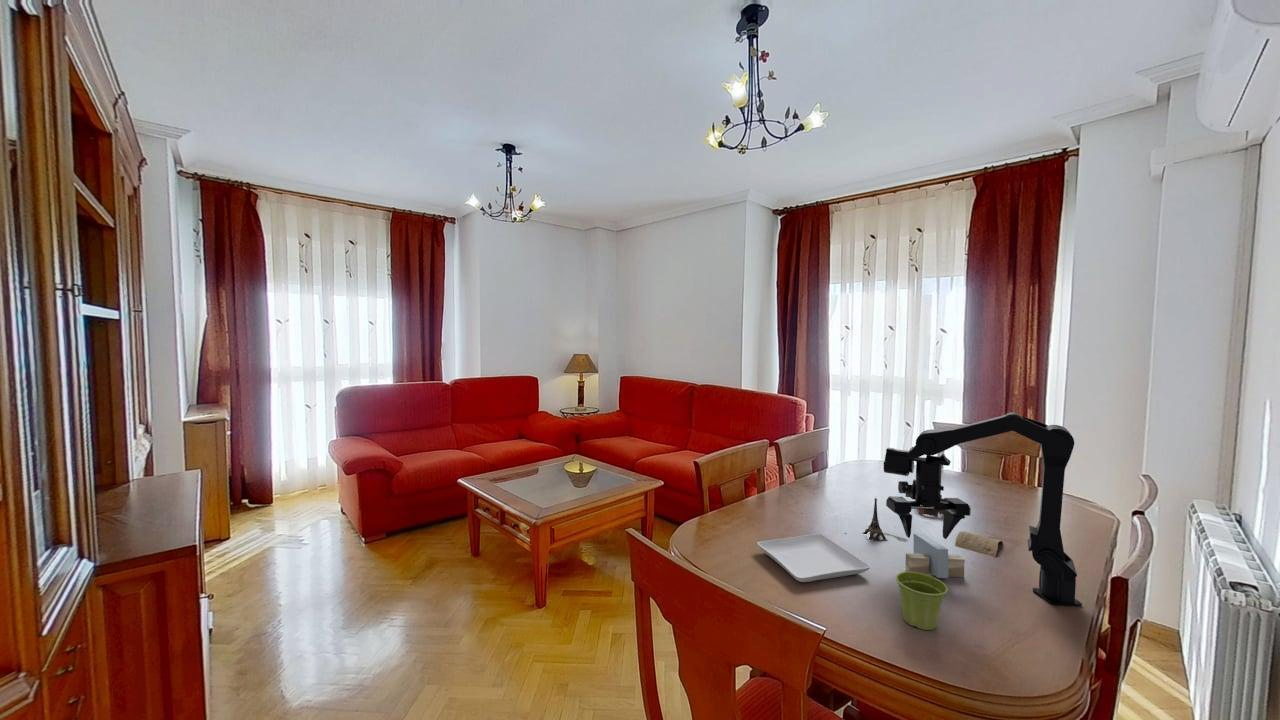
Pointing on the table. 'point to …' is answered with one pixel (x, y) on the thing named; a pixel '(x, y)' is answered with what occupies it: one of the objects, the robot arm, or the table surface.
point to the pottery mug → (931, 511)
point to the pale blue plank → (932, 554)
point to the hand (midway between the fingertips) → (926, 537)
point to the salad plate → (813, 557)
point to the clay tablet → (977, 543)
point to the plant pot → (921, 599)
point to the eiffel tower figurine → (878, 529)
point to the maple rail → (922, 564)
